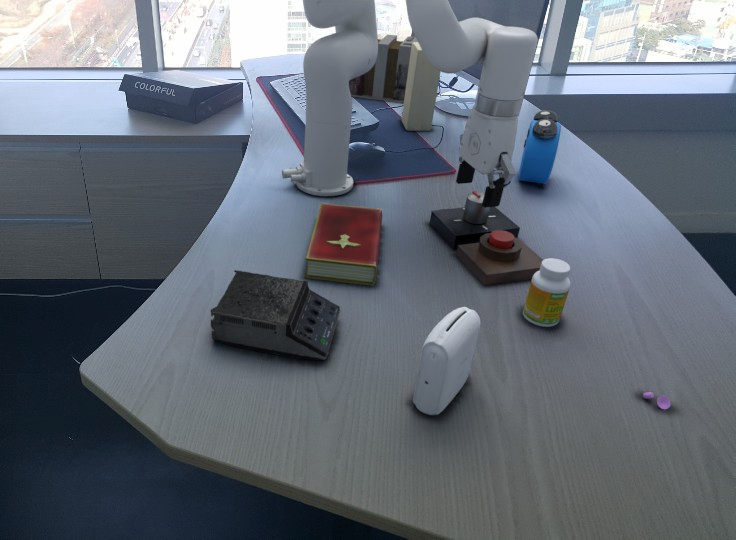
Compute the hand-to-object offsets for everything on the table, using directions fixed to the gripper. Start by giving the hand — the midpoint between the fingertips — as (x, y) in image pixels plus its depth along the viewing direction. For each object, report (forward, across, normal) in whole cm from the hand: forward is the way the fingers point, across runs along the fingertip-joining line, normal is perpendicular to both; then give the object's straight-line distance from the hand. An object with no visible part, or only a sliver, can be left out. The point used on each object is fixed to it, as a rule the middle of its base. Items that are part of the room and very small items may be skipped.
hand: (476, 194), depth 118 cm
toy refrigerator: (+9, -56, +16) cm, 59 cm away
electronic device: (+8, +22, -44) cm, 49 cm away
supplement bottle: (+8, +28, -2) cm, 29 cm away
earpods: (+7, +48, +2) cm, 48 cm away
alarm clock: (+8, -18, +26) cm, 32 cm away
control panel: (+8, +1, 0) cm, 8 cm away
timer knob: (+5, +1, 0) cm, 5 cm away
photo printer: (+8, +40, -26) cm, 48 cm away
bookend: (+10, -86, +18) cm, 89 cm away
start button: (+4, +11, -1) cm, 12 cm away
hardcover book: (+9, +2, -26) cm, 27 cm away
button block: (+8, +13, 0) cm, 15 cm away
